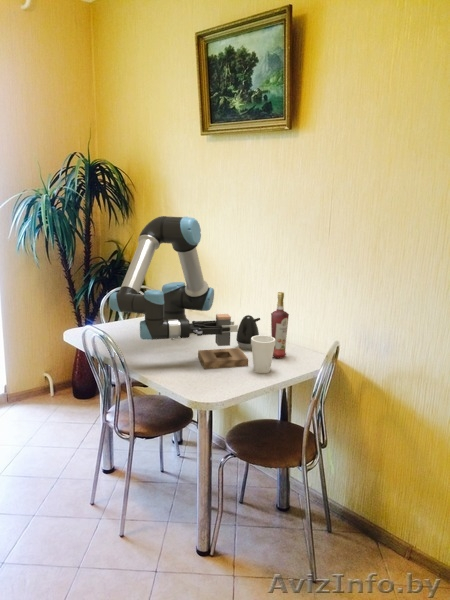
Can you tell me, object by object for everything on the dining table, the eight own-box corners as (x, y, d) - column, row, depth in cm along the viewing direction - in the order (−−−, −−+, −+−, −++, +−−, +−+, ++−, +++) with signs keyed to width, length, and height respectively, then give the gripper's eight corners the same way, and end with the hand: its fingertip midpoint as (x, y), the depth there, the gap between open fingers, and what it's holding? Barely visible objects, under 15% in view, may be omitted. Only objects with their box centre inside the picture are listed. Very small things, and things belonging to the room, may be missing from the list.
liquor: (277, 360, 201) (280, 295, 195) (265, 355, 207) (268, 292, 201) (290, 357, 205) (293, 293, 199) (278, 352, 211) (281, 290, 205)
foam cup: (261, 364, 197) (262, 333, 194) (278, 370, 191) (280, 339, 188) (245, 369, 190) (246, 338, 188) (262, 376, 184) (264, 344, 181)
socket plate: (204, 369, 190) (204, 361, 190) (198, 357, 204) (198, 350, 203) (248, 366, 195) (248, 359, 194) (239, 354, 208) (239, 347, 207)
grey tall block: (218, 346, 194) (218, 317, 192) (215, 342, 199) (216, 314, 196) (230, 345, 195) (230, 316, 193) (227, 341, 200) (227, 313, 197)
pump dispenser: (257, 352, 211) (258, 319, 207) (234, 350, 213) (235, 317, 209) (260, 345, 221) (261, 313, 217) (238, 343, 223) (239, 311, 219)
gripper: (176, 331, 201) (230, 329, 206) (182, 344, 184) (241, 341, 189) (176, 314, 199) (230, 312, 204) (182, 325, 182) (241, 323, 187)
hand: (235, 326), depth 197 cm, fingers closed on grey tall block, 5 cm apart
